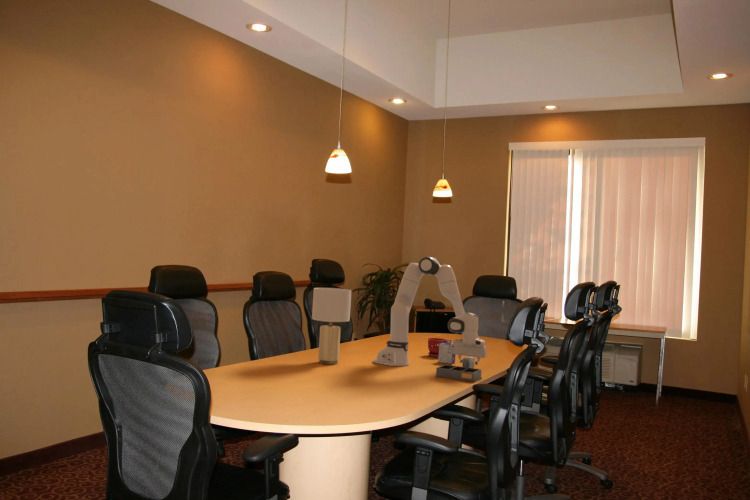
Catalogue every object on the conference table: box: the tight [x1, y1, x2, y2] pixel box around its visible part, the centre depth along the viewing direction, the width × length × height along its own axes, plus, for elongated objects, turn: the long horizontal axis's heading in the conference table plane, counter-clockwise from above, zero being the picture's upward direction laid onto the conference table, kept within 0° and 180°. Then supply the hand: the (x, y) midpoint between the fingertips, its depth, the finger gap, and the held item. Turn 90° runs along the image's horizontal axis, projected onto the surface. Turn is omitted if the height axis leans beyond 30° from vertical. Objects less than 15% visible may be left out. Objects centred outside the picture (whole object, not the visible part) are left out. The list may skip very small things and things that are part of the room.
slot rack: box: [435, 363, 482, 383], centre depth 354 cm, size 22×14×5 cm, turn 63°
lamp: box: [311, 287, 352, 366], centre depth 375 cm, size 23×23×44 cm
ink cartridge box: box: [437, 339, 457, 365], centre depth 401 cm, size 10×6×14 cm, turn 56°
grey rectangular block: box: [461, 356, 476, 369], centre depth 370 cm, size 4×10×9 cm, turn 153°
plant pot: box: [427, 337, 449, 358], centre depth 424 cm, size 13×13×12 cm
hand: (469, 363), depth 370 cm, fingers open, 8 cm apart
